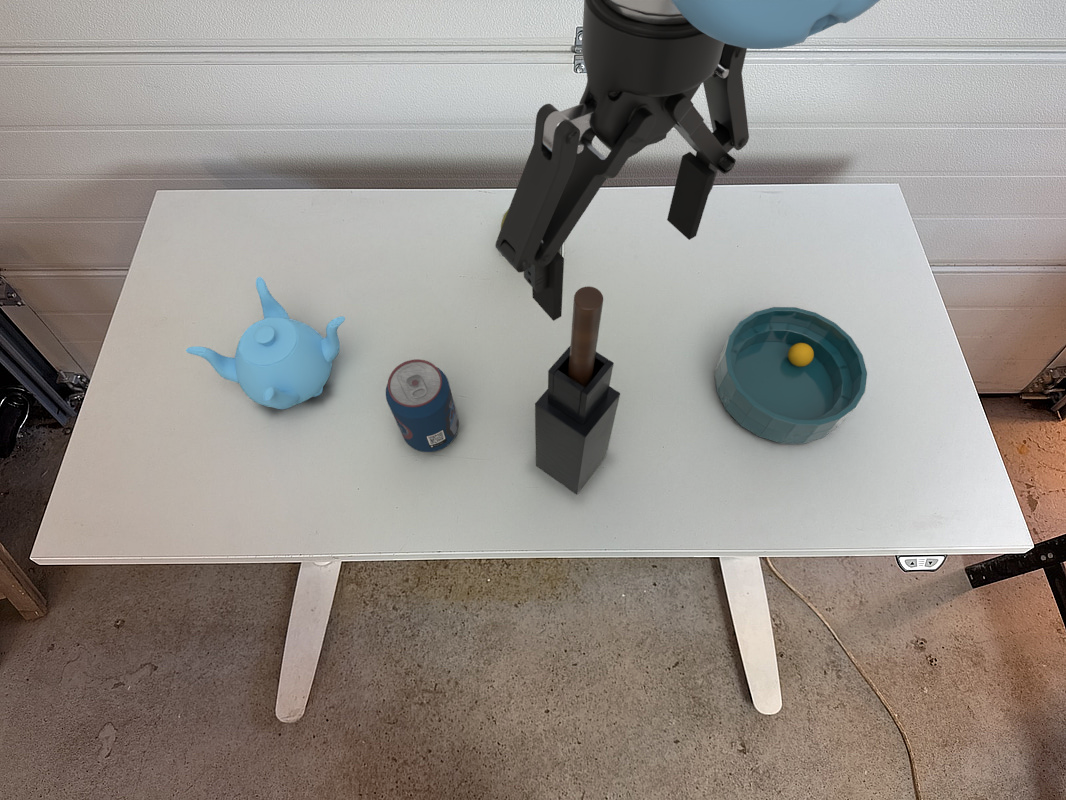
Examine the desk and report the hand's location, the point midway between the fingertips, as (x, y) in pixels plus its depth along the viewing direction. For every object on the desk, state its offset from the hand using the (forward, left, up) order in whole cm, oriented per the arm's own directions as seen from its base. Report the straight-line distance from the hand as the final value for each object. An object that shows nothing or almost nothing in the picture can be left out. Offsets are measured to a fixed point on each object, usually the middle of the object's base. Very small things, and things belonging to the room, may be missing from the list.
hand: (616, 266), depth 50 cm
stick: (-4, 0, -15) cm, 16 cm away
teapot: (-16, +35, -31) cm, 49 cm away
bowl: (+20, -15, -31) cm, 40 cm away
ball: (+24, -15, -29) cm, 40 cm away
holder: (-4, 0, -31) cm, 31 cm away
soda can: (-11, +16, -31) cm, 37 cm away
